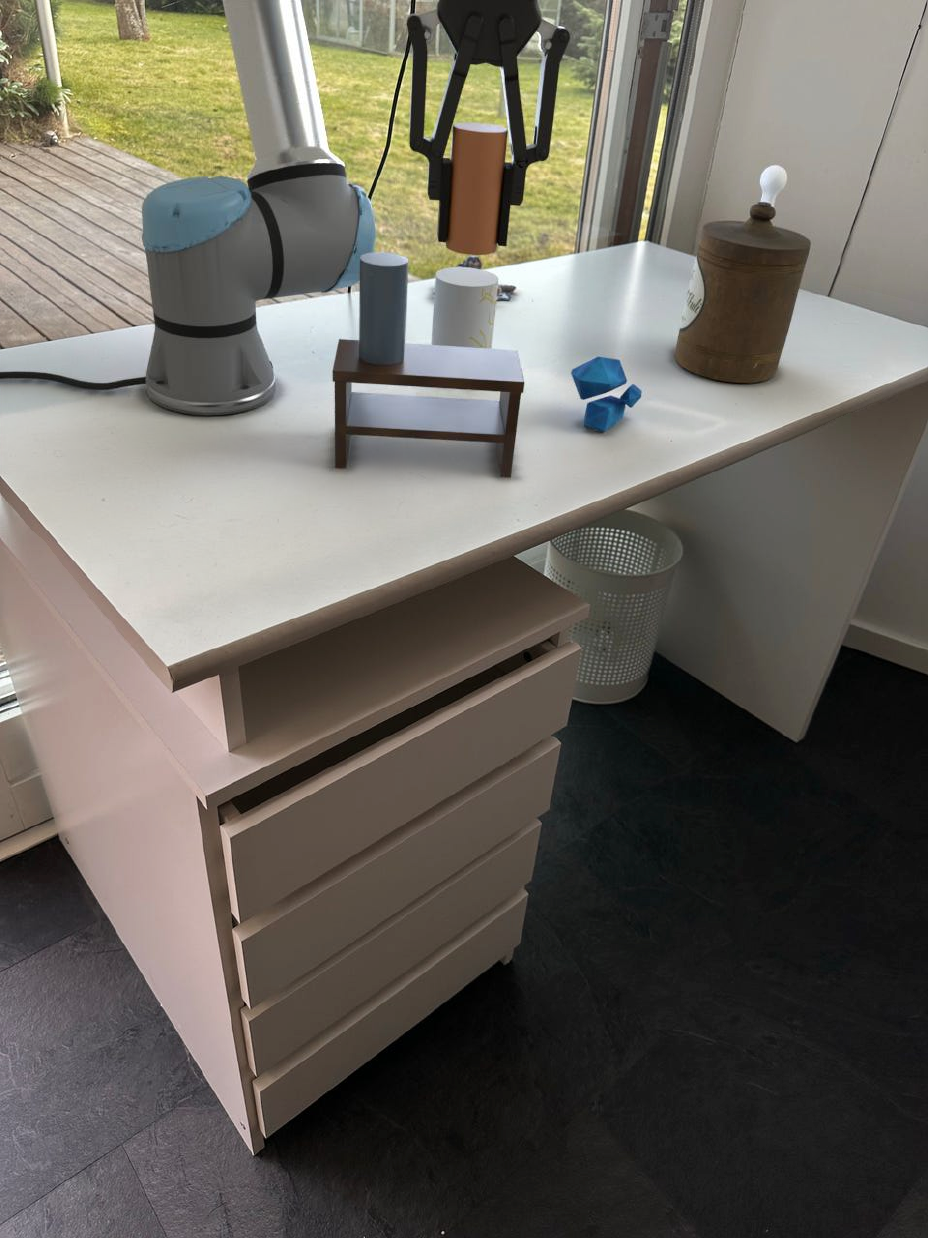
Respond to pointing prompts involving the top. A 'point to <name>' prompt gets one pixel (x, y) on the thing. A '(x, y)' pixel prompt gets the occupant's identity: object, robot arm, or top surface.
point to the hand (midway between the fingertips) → (471, 239)
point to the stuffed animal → (476, 263)
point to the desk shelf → (430, 413)
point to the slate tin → (382, 308)
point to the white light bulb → (772, 183)
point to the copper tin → (475, 187)
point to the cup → (464, 307)
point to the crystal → (603, 392)
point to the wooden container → (741, 298)
